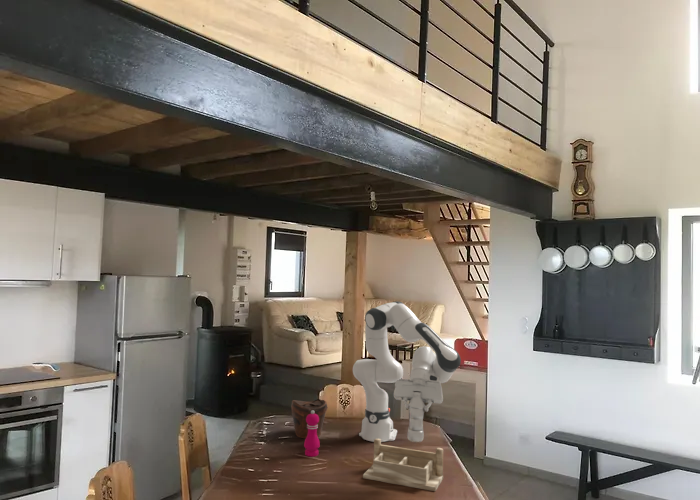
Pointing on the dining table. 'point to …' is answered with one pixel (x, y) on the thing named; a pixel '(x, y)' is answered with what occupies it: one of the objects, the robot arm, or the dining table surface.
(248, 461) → the dining table surface
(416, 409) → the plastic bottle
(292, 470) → the dining table surface
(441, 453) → the wooden compartment rack
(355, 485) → the dining table surface
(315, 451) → the magenta pepper grinder
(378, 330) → the robot arm
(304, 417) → the brown flower pot
